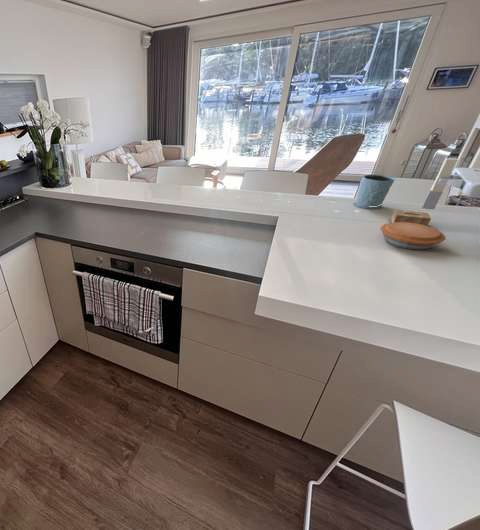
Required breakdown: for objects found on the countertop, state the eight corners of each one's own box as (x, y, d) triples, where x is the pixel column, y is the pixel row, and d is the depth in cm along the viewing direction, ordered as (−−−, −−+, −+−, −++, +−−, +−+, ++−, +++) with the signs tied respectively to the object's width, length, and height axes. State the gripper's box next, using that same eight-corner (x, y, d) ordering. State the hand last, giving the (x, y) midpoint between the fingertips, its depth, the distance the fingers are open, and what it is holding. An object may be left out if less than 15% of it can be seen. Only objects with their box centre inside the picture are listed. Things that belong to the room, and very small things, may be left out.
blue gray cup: (352, 200, 129) (361, 173, 123) (381, 202, 124) (392, 174, 118) (354, 208, 122) (364, 179, 116) (385, 210, 117) (397, 181, 111)
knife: (433, 208, 95) (458, 158, 87) (434, 210, 94) (459, 159, 86) (421, 207, 97) (444, 158, 89) (421, 209, 96) (445, 159, 87)
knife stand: (423, 223, 105) (428, 212, 103) (426, 229, 101) (431, 218, 99) (390, 219, 109) (395, 209, 107) (392, 225, 105) (396, 215, 103)
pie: (369, 231, 103) (374, 218, 100) (424, 233, 98) (431, 220, 95) (387, 250, 91) (393, 236, 88) (451, 255, 86) (460, 240, 83)
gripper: (498, 163, 89) (436, 162, 96) (524, 181, 75) (449, 178, 82) (486, 183, 92) (427, 180, 100) (509, 204, 78) (439, 199, 86)
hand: (437, 179), depth 91 cm, fingers closed on knife, 2 cm apart
